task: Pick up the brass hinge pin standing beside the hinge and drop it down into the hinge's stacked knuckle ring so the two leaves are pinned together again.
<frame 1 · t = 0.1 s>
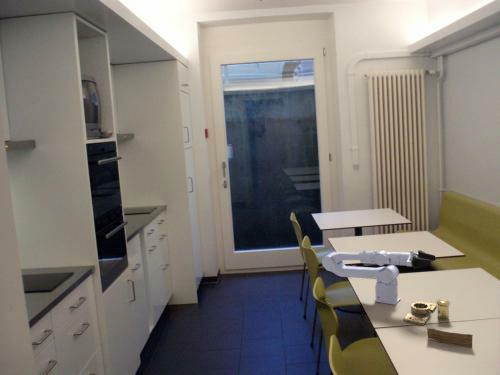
hand: (433, 260, 202), 22 cm above the table, tool horizontal, fingers open, 7 cm apart
hinge pin: (443, 317, 195), on the table
hinge: (420, 313, 200), on the table
wood plank: (449, 344, 173), on the table
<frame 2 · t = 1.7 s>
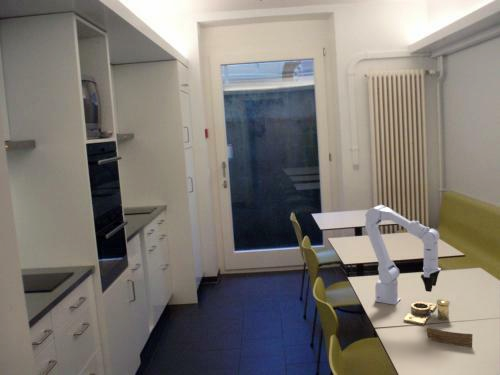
hand: (430, 288, 203), 9 cm above the table, tool pointing down, fingers open, 7 cm apart
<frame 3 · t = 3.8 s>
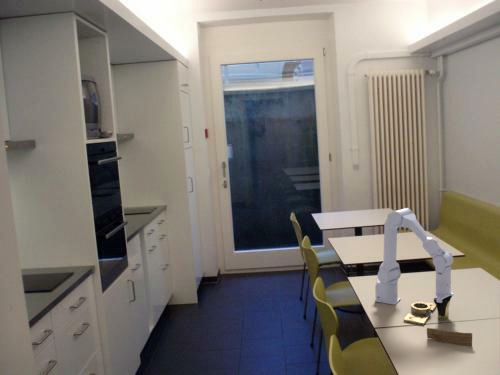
hand: (443, 313, 195), 2 cm above the table, tool pointing down, fingers closed on hinge pin, 5 cm apart
hinge pin: (443, 317, 195), on the table, touching gripper
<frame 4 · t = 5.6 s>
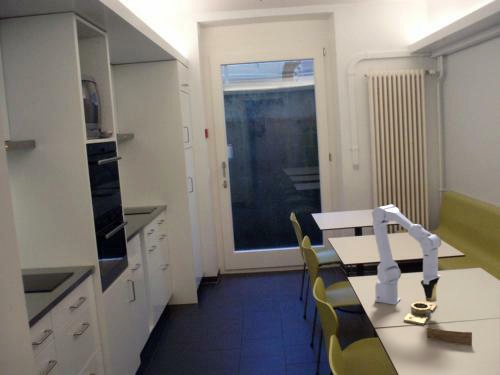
hand: (430, 295, 197), 9 cm above the table, tool pointing down, fingers closed on hinge pin, 5 cm apart
hinge pin: (431, 300, 197), point 7 cm above the table, touching gripper
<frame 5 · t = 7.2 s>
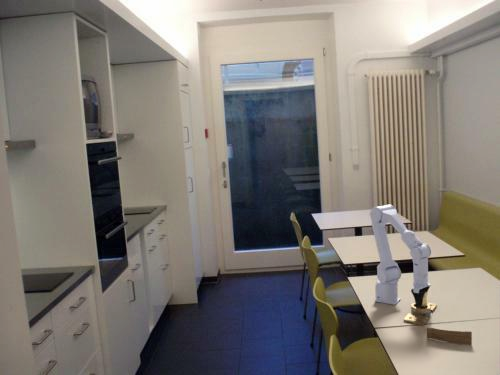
hand: (420, 303, 199), 4 cm above the table, tool pointing down, fingers closed on hinge pin, 5 cm apart
hinge pin: (422, 308, 199), point 2 cm above the table, touching gripper
when the fingers open (4 cm above the table, at t = 7.8 s): hinge pin drops 2 cm, resting in hinge.
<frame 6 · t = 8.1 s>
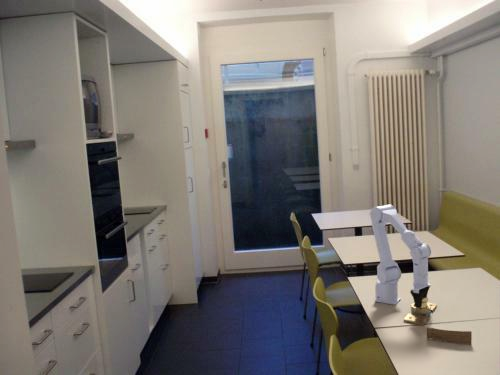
hand: (420, 303, 199), 4 cm above the table, tool pointing down, fingers open, 7 cm apart
hinge pin: (421, 313, 200), resting in hinge
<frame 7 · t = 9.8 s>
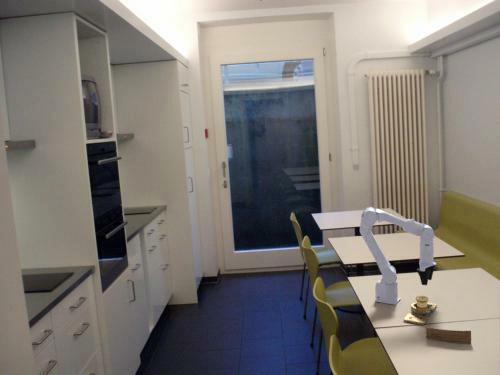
hand: (426, 282, 210), 9 cm above the table, tool pointing down, fingers open, 7 cm apart
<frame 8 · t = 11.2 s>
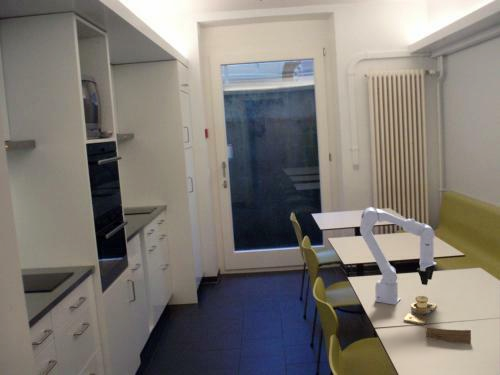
hand: (426, 281, 211), 9 cm above the table, tool pointing down, fingers open, 7 cm apart
at the end: hinge pin 0.5 cm from the hinge (horizontally); hinge pin resting in hinge; hinge pin tilted 1° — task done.
